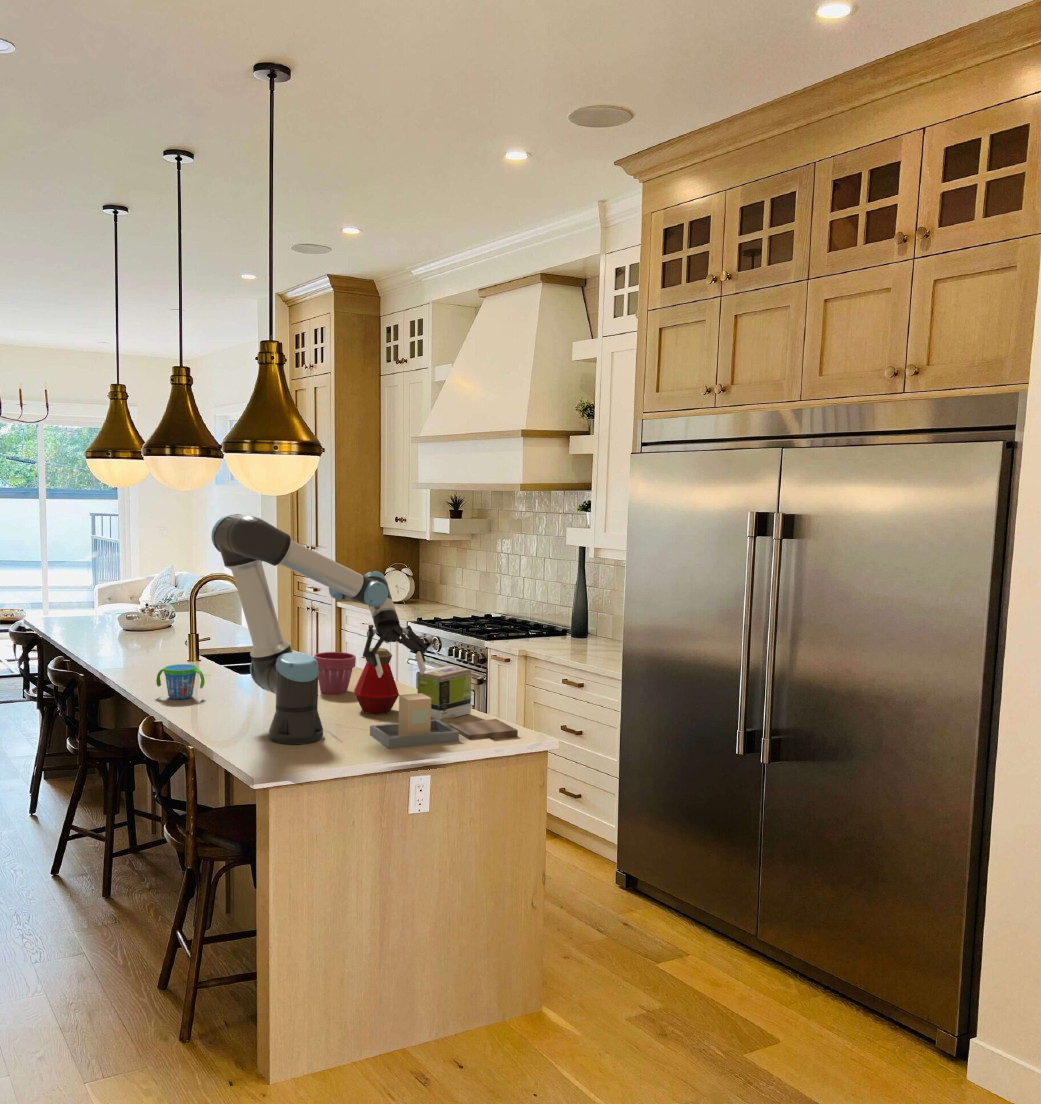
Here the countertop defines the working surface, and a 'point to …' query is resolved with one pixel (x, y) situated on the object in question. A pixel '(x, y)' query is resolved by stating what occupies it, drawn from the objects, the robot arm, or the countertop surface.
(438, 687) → the tea box
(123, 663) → the countertop surface
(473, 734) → the walnut board
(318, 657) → the plant pot
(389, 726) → the bin
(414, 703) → the box
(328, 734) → the countertop surface
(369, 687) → the bottle
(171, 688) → the snack cup
